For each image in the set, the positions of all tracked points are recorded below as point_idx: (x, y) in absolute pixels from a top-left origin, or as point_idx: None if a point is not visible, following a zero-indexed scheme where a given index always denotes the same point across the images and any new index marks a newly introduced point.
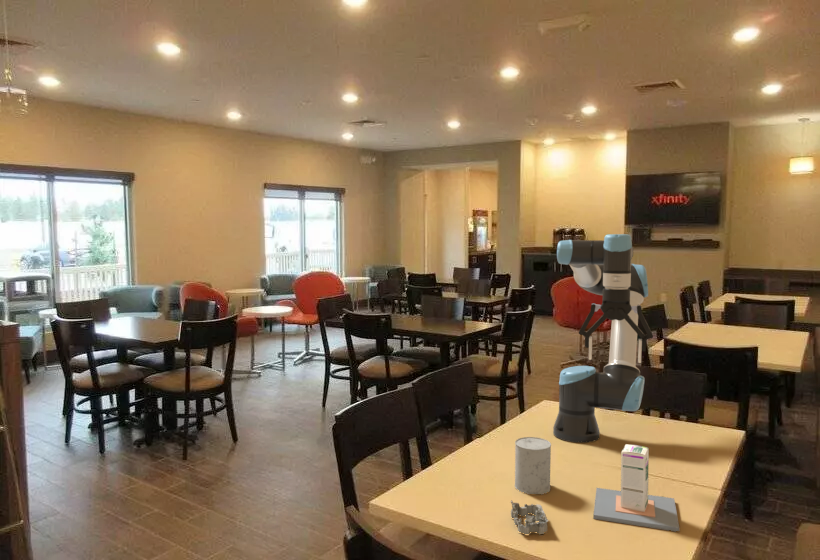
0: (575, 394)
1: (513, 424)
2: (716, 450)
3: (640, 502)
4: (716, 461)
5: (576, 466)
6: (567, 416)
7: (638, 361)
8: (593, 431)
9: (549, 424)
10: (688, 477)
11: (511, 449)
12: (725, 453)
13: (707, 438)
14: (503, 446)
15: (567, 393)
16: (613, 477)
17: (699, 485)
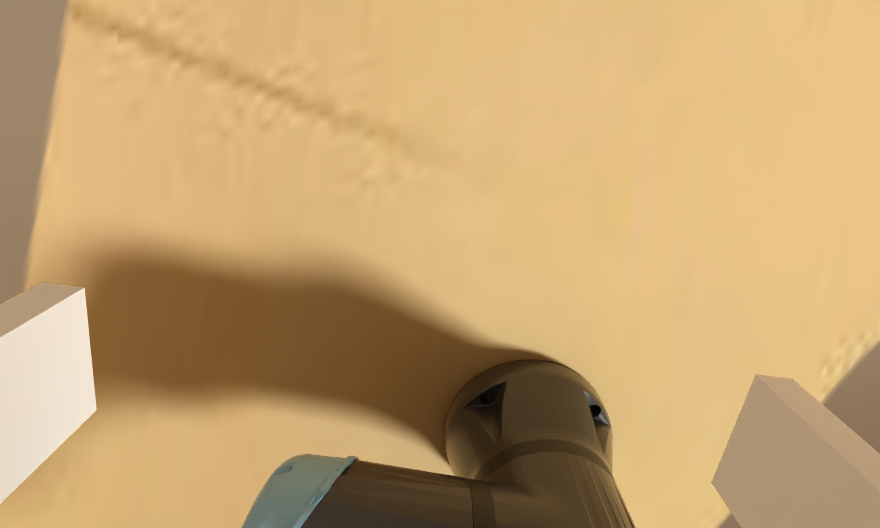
0: (583, 513)
1: None
2: None
3: None
4: (65, 276)
5: (568, 130)
6: (586, 442)
7: (65, 295)
8: (473, 408)
9: None
10: (167, 103)
11: (789, 254)
12: None
13: (87, 471)
14: (814, 278)
15: (621, 524)
16: (442, 44)
17: (132, 30)
